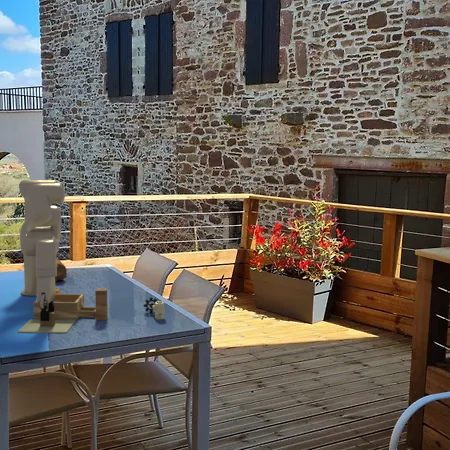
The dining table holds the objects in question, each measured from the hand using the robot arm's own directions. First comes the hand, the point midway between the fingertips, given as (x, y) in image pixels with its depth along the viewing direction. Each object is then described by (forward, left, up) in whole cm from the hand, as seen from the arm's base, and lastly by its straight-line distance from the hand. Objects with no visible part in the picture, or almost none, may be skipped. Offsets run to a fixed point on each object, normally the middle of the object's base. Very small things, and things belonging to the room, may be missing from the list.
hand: (47, 317), depth 233 cm
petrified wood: (-81, -19, -4) cm, 83 cm away
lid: (0, 0, -4) cm, 4 cm away
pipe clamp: (-29, -8, -4) cm, 30 cm away
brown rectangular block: (-12, +19, -4) cm, 22 cm away
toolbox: (-17, +4, -4) cm, 17 cm away
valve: (-17, +40, -4) cm, 43 cm away
